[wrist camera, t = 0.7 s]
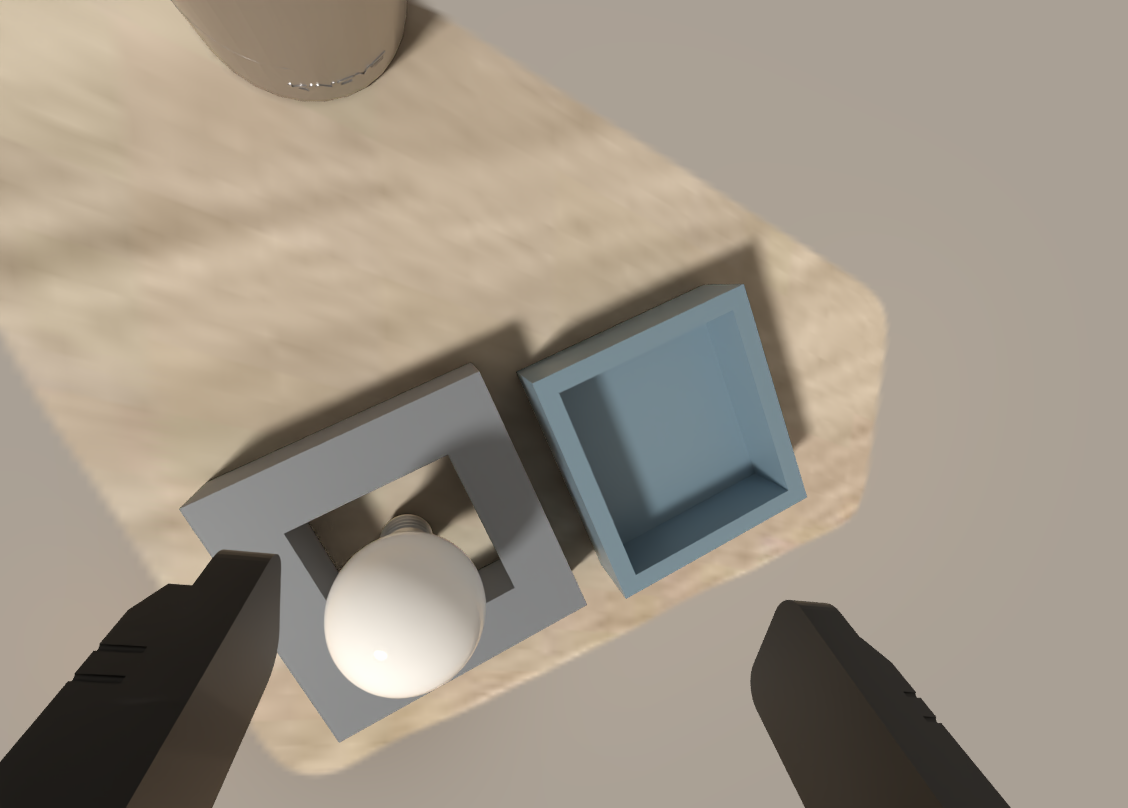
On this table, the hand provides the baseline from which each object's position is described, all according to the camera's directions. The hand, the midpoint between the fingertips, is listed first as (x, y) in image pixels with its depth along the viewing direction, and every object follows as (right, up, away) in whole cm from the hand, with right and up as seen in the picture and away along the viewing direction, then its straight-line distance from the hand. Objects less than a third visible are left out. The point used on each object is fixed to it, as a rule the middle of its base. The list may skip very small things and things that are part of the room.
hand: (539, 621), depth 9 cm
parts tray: (+6, +2, +24) cm, 25 cm away
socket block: (-8, -4, +21) cm, 23 cm away
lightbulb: (-8, -4, +22) cm, 23 cm away
